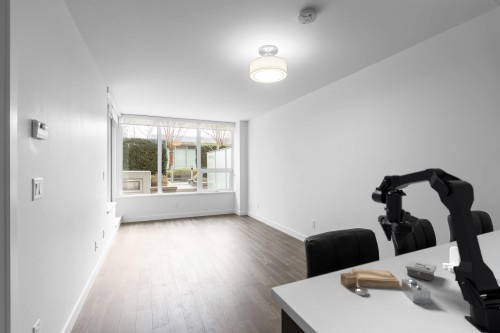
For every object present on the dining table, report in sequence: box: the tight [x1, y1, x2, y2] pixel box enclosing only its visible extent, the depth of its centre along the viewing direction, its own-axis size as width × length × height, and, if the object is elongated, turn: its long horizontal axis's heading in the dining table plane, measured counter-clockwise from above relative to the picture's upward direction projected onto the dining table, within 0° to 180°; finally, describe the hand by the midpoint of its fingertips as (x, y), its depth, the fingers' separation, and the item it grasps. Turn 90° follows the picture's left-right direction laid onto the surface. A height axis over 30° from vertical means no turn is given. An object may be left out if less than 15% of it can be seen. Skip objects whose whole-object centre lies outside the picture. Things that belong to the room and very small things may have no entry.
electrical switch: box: [404, 259, 437, 282], centre depth 98 cm, size 9×5×9 cm
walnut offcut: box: [340, 272, 358, 290], centre depth 90 cm, size 4×4×4 cm
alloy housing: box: [401, 278, 431, 305], centre depth 82 cm, size 8×5×5 cm, turn 171°
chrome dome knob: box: [354, 286, 369, 297], centre depth 85 cm, size 4×4×2 cm
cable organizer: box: [442, 245, 460, 274], centre depth 103 cm, size 5×10×10 cm, turn 84°
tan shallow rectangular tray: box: [351, 268, 400, 289], centre depth 93 cm, size 9×14×3 cm, turn 81°
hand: (394, 244), depth 100 cm, fingers open, 9 cm apart
